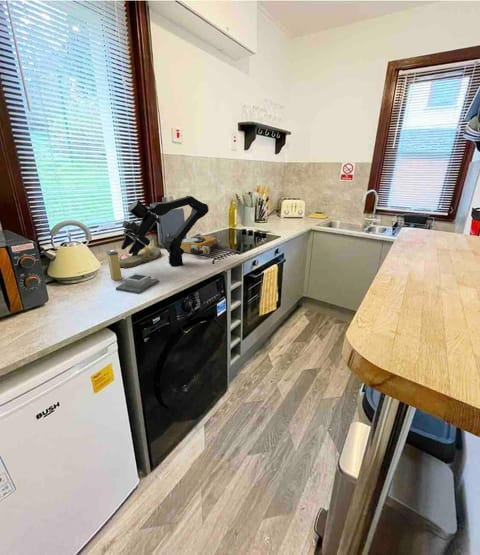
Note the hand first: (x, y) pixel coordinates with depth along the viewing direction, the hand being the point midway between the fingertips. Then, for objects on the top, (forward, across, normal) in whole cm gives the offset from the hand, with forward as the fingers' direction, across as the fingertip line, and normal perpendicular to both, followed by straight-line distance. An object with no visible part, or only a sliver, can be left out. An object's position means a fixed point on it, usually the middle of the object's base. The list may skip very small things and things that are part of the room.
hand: (125, 251), depth 128 cm
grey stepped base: (+10, +15, +8) cm, 20 cm away
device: (-27, -13, +44) cm, 53 cm away
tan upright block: (+13, 0, +4) cm, 14 cm away
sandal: (-1, -19, +19) cm, 27 cm away
